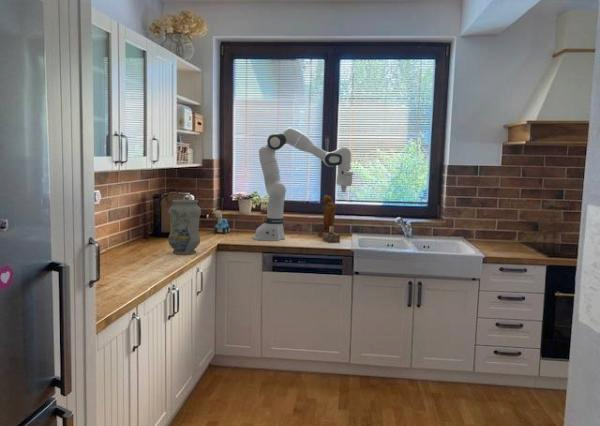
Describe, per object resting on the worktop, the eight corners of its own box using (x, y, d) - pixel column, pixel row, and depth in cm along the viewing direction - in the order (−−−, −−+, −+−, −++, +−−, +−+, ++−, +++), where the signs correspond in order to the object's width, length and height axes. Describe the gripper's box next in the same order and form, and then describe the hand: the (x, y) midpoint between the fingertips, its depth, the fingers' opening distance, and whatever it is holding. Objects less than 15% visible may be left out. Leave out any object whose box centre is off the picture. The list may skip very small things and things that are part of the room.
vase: (174, 249, 291) (174, 198, 288) (204, 250, 289) (205, 199, 286) (163, 254, 273) (163, 200, 270) (195, 256, 271) (195, 201, 268)
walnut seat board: (327, 242, 331) (327, 235, 331) (322, 240, 341) (322, 232, 340) (339, 242, 334) (340, 235, 333) (334, 239, 343) (335, 232, 343)
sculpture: (316, 235, 360) (318, 194, 357) (327, 235, 364) (329, 194, 361) (324, 238, 348) (326, 195, 345) (336, 237, 352) (337, 195, 349)
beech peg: (329, 241, 335) (330, 226, 334) (328, 240, 338) (328, 226, 337) (334, 241, 336) (334, 226, 335) (332, 240, 339) (333, 226, 338)
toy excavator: (210, 234, 350) (210, 210, 348) (219, 231, 366) (219, 208, 364) (222, 235, 348) (222, 211, 346) (230, 232, 364) (230, 208, 362)
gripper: (334, 171, 344) (334, 191, 346) (345, 172, 325) (344, 193, 326) (343, 171, 346) (342, 191, 347) (354, 172, 326) (353, 193, 328)
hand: (343, 192), depth 337 cm, fingers closed
